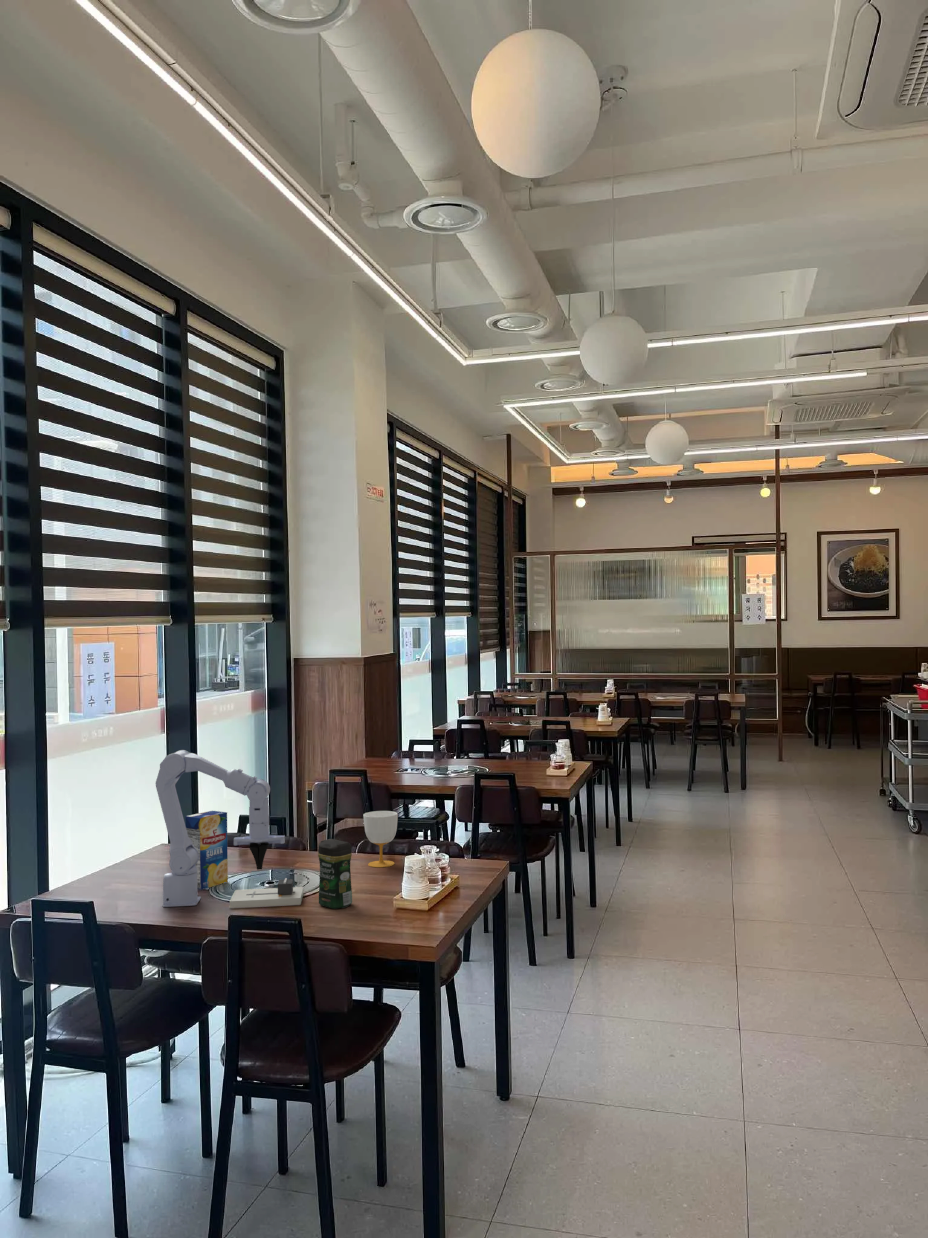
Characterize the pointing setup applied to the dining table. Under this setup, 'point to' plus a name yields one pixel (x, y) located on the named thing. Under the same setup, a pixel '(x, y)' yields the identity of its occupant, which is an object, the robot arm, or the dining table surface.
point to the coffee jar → (335, 874)
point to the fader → (285, 886)
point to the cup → (380, 832)
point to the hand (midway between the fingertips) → (259, 868)
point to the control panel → (265, 898)
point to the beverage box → (209, 847)
